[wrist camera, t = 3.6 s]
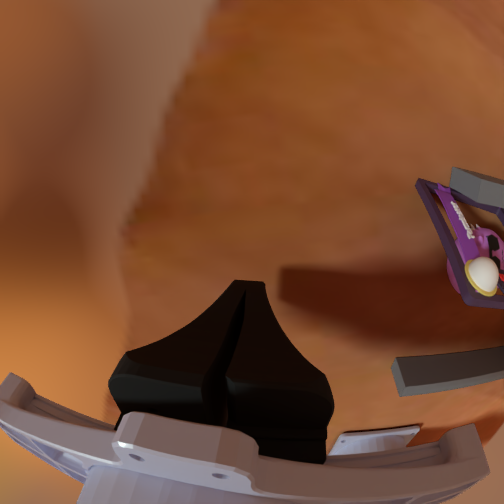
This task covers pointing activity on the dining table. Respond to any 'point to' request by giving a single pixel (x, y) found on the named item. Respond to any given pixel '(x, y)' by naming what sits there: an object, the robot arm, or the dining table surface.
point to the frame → (464, 363)
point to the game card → (468, 247)
